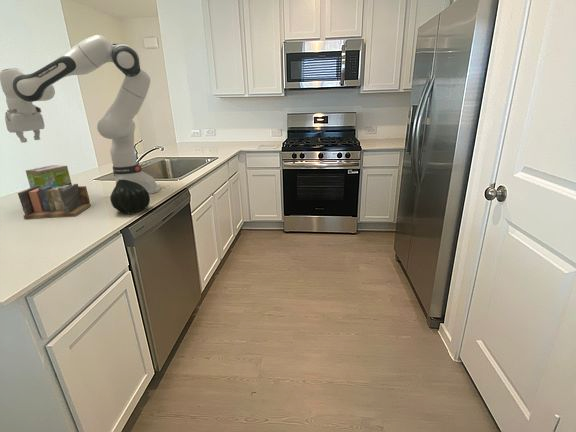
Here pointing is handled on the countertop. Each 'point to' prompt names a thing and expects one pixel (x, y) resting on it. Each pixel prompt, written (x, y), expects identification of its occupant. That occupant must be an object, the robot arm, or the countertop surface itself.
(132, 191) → the squash
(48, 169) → the tea box
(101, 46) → the robot arm
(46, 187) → the rack
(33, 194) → the terracotta rectangular block
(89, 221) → the countertop surface
